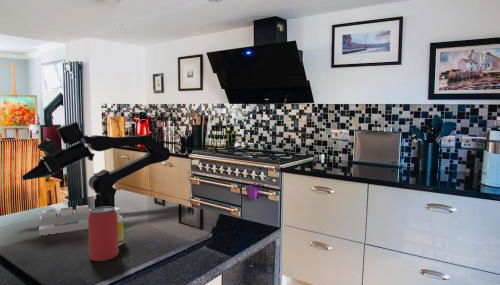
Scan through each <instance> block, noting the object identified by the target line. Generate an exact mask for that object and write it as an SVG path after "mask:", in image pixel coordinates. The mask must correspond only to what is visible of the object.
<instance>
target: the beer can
mask: <svg viewBox="0 0 500 285" xmlns="http://www.w3.org/2000/svg"><path fill="white" fill-rule="evenodd" d="M90 209H91V208H90ZM87 230H88V251H89V259H90V260H91V261H94V262H107V261H109V260H113V259H114V258H116V257H118V256H119V255H118V254H119V253H120V251H119V246H118V218H117V214H116V211H115V208H114V207H110V206H105V207H97V208H94V207H93V208H92V209H91V210H90V215H89V218H88V229H87Z"/></svg>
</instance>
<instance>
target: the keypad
mask: <svg viewBox="0 0 500 285" xmlns="http://www.w3.org/2000/svg"><path fill="white" fill-rule="evenodd" d="M90 210H91V208H88V211H89V213H83V214H77V213H76V210H72V212H73V215H67V216H60V212H56V217H51V218H44V219H43V214H40V217H39V228H38V236H39V237H42V236H41V235H43V236H48V234H50V235H55V234H56V233H57V234H62V233H69V232H70V233H71V232H77V231H82V230H88V218H89V215H90Z"/></svg>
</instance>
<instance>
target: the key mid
mask: <svg viewBox="0 0 500 285" xmlns="http://www.w3.org/2000/svg"><path fill="white" fill-rule="evenodd" d="M72 211H73V207H72V206H70V207H69V206H67V207H60V209H59V213H60V216H67V215H73V212H72Z"/></svg>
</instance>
